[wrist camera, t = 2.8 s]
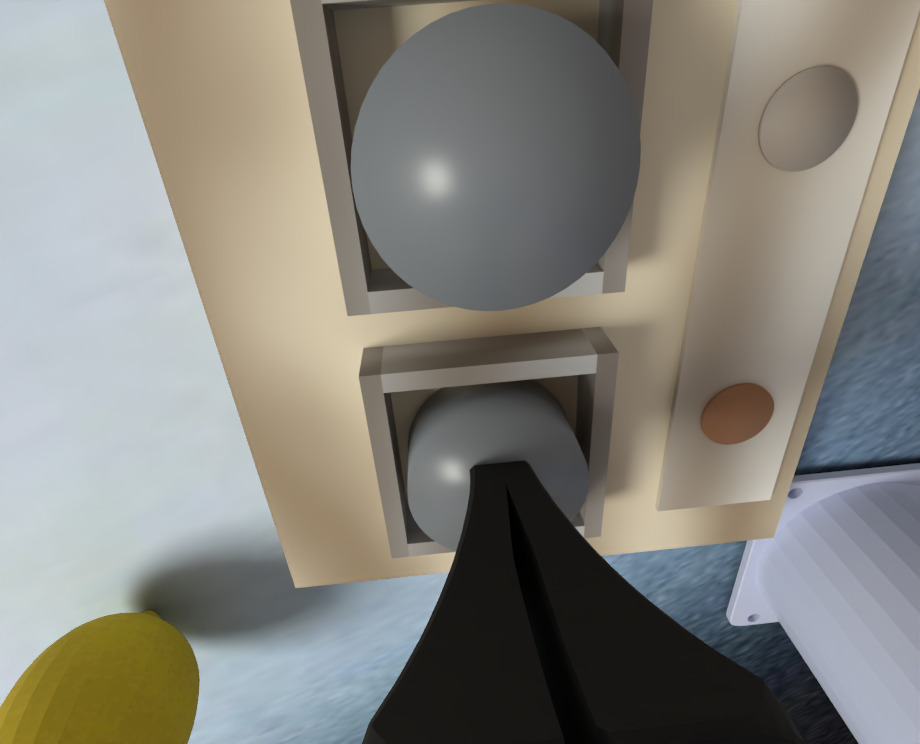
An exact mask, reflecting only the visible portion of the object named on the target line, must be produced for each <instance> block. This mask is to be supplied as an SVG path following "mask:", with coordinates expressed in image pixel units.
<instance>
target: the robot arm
mask: <svg viewBox="0 0 920 744" xmlns="http://www.w3.org/2000/svg"><path fill="white" fill-rule="evenodd" d="M726 616H727V618H728V620H729V622H730V623H731V624H732V625H735V626H744V625H753V624H762V623H771V622H780V624H781V625H782V627H783V628H784V630H785V631H786V633H787V634H788V636H789V637H790V639H791V640H792V642H793V643H794V645H795V647H796V648H797V650H798V651H799V653H800V654H801V656H802V657H803V659H804V660H805V662H806V663H807V665H808V666H809V668H810V670H811V671H812V673H813V674H814V676H815V677H816V679H817V680H818V682H819V683H820V685H821V686H822V688H823V689H824V691H825V692H826V694H827V696H828V697H829V699H830V700H831V702H832V703H833V705H834V706H835V708H836V709H837V711H838V712H839V714H840V715H841V717H842V718H843V720H844V722H845V723H846V725H847V726H848V728H849V729H850V731H851V732H852V734H853V735H854V737H855V738H856V740H857V741H858V743H859V744H920V463H916V464H906V465H896V466H886V467H876V468H866V469H857V470H847V471H837V472H827V473H817V474H807V475H798V476H794V477H793V480H792V483H791V486H790V489H789V492H788V495H787V498H786V501H785V504H784V507H783V510H782V514H781V517H780V520H779V523H778V526H777V529H776V532H775V535H774V538H766V539H757V540H747V544H746V547H745V551H744V554H743V557H742V561H741V564H740V568H739V571H738V575H737V578H736V581H735V585H734V588H733V592H732V595H731V599H730V602H729V605H728V609H727V612H726ZM362 744H805V742H804V740H803V739H802V737H801V735H800V733H799V732H798V730H797V728H796V726H795V725H794V723H793V721H792V719H791V718H790V716H789V715H788V714H787V712H786V711H785V709H784V708H783V706H782V705H781V703H780V702H779V701H778V699H777V698H776V696H775V695H774V694H773V692H772V691H771V690H770V688H769V687H768V685H767V684H766V683H765V681H764V680H762V679H761V678H759V677H758V676H756V675H754V674H753V673H751V672H750V671H748V670H746V669H745V668H743V667H741V666H740V665H738V664H737V663H735V662H733V661H732V660H730V659H729V658H727V657H725V656H724V655H722V654H721V653H719V652H717V651H716V650H714V649H713V648H711V647H710V646H708V645H707V644H706V643H704V642H703V641H701V640H700V639H698V638H697V637H696V636H694V635H693V634H691V633H690V632H689V631H687V630H686V629H684V628H683V627H682V626H681V625H679V624H678V623H677V622H676V621H674V620H673V619H672V618H670V617H669V616H668V615H667V614H665V613H664V612H663V611H662V610H660V609H659V608H658V607H656V606H655V605H654V604H653V603H651V602H650V601H649V600H648V599H646V598H645V597H644V596H643V595H642V594H641V593H640V592H638V591H637V590H636V589H635V588H634V587H633V586H632V585H631V584H629V583H628V582H627V581H626V580H625V579H624V578H623V577H622V576H621V575H620V574H619V573H618V572H617V571H615V570H614V569H613V568H612V567H611V566H610V565H609V564H608V563H607V562H606V561H605V560H604V559H603V558H602V557H601V556H600V555H599V553H598V552H597V551H596V550H595V549H594V548H593V547H592V546H591V545H590V544H589V543H588V542H587V540H586V539H585V538H584V537H583V536H582V535H581V534H580V533H579V531H578V530H577V529H576V528H575V527H574V526H573V524H572V523H571V522H570V521H569V519H568V518H567V517H566V516H565V514H564V513H563V512H562V511H561V509H560V508H559V507H558V506H557V504H556V503H555V502H554V500H553V499H552V498H551V496H550V495H549V493H548V492H547V491H546V489H545V488H544V486H543V485H542V483H541V482H540V480H539V479H538V477H537V476H536V474H535V472H534V471H533V469H532V467H531V466H530V464H529V463H528V462H526V461H525V460H524V461H514V462H504V463H494V464H484V465H474V466H473V467H472V468H471V469H470V492H469V500H468V506H467V511H466V516H465V520H464V525H463V529H462V533H461V537H460V540H459V543H458V547H457V550H456V553H455V556H454V560H453V563H452V566H451V569H450V571H449V574H448V577H447V580H446V582H445V585H444V587H443V590H442V592H441V595H440V597H439V599H438V602H437V604H436V606H435V608H434V611H433V613H432V615H431V617H430V619H429V622H428V624H427V626H426V628H425V630H424V632H423V634H422V636H421V638H420V640H419V642H418V643H417V645H416V647H415V649H414V651H413V652H412V654H411V656H410V658H409V660H408V661H407V663H406V665H405V667H404V669H403V670H402V672H401V674H400V676H399V677H398V679H397V681H396V682H395V684H394V686H393V687H392V689H391V690H390V692H389V693H388V695H387V696H386V698H385V699H384V701H383V703H382V704H381V706H380V707H379V709H378V710H377V712H376V713H375V715H374V716H373V718H372V719H371V721H370V723H369V725H368V728H367V731H366V734H365V737H364V740H363V743H362Z"/></svg>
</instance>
